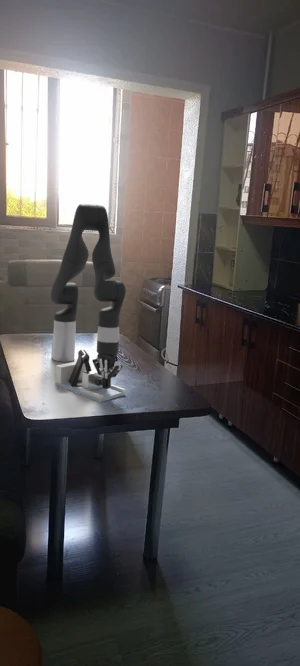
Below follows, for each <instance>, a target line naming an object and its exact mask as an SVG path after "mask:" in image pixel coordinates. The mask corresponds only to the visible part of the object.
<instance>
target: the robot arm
mask: <svg viewBox="0 0 300 666" xmlns="http://www.w3.org/2000/svg"><path fill="white" fill-rule="evenodd" d="M108 217H109V215H108V211H107V208H106V207H105V206H104V205H99V204H92V203H91V204H89V203H80V204H78V206H77V208H76V210H75V212H74V216H73V222H72V225H71V231H70V235H69V238H68V241H67V245H66V247H65V250H64V252H63V257H62V258H61V259H62V260H61V264H60V267H59V270H58V273H57V274H56V277H55V280H54V281H53V284H52V287H51V291H50V300H51V302H52V303H53V304H55V305H66V307H64V308H62V309H61V310H59V311H56V312H55V313H54V315H53V336H52V337H51V359H52V360H53V361H56V362H62V363H64V362H65V363H66V362H67V363H70V362H74V361H75V351H76V332H77V331H76V329H77V328H76V327H77V326H76V325H77V313H78V303H79V302H78V301H79V286H78V285H77V284H76V282H71V281H72V280H73V279H74V278H76V277H77V276H78V275H80V274H81V273H82V272H83V270H84V269H85V267H86V265H87V263H88V259H89V254H90V253H89V249H88V247H87V245H86V243H85V241H84V238H83V232H84V231H92V232H93V231H94V232H95V231H96V232H98V234H99V235H98V236H99V237H98V241H96V244H95V246H94V247H93V251H92V255H91V260H92V266H93V270H94V278H95V279H94V289H93V296H94V297H95V299H96V300H97V301H98V302H104V303H105V302H107V303H108V302H109V303H110V302H111V304H110V305H109V306H108V307H104V308H101V309H100V310H99V311H98V324H97V325H98V326H97V333H96V352H97V353H98V354H97V357H96V358H95V359H92V364H93V365H94V368H95V370H97V373H98V375H101V377H102V386H103V388H104V389H109V388H110V386H111V384H112V378H116V377H117V376H118V374H119V373H120V372H121V370H122V369H123V367H124V366H123V365H122V364H120V363H119V362H118V361H119V359H118V354H119V352H120V349H119V348H120V315H121V311H122V307H123V303H124V300H125V298H126V293H127V289H126V286H125V285H126V284H125V283H124V282H122V281H121V280H110V279H113V278H114V276H116V267H115V263H114V259H113V255H112V250H111V239H110V227H109V226H110V225H109V218H108Z"/></svg>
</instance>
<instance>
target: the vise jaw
mask: <svg viewBox="0 0 300 666" xmlns="http://www.w3.org/2000/svg"><path fill="white" fill-rule="evenodd" d="M91 370H92V369H91ZM82 388H84V389H87V390H90V391H91V390H95V389H99V388H103V386H102V377H101V375H98V373H97V370H96V369H93V370H92V371H88V372H83V376H82Z"/></svg>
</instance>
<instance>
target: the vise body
mask: <svg viewBox="0 0 300 666" xmlns="http://www.w3.org/2000/svg"><path fill="white" fill-rule="evenodd" d="M76 362H77V361H71V362H67V363H62V364H58V365H55V374H54V375H55V378H54V381H55V384H54V385H55V386H58V387H60V388H62V387H63V389H65V388H66V389H65V390H67V389H68V391H70V390H71V392H73V391H74V392H73V393H75V392H77V393H76V394H78V393H79V394H78V395H80V394H81V395H80V396H83V397H85V398H88V399H91V400H93V401H96V402H99V403H102V402H106V401H108V400H112V399H116V398H119V397H122V396H125V394H126V389H125V388H123V387H120V386H117V385H115V384H112V383H111V386H110V388H109V389H104V388H99V389H95V390H91V391H90V390H87V389H84V388H82V386H81V387H72V386H71V384H70V382H69V379H70V376H71V374H72V371H73V369H74V367H75V364H76ZM83 372H86V368H85V363H84V364H83V366H82V369H81V372H80V375H79V379H78V380H82V376H83Z"/></svg>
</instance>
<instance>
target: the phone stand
mask: <svg viewBox="0 0 300 666" xmlns="http://www.w3.org/2000/svg"><path fill="white" fill-rule="evenodd" d="M77 355H78V357H77V360H76V361H75V362H76V364H75V367H74V369H73V371H72V374H71V376H70V379H69V382H70V384H71V386H72V387H81V386H82V380H78V379H79V375H80V372H81V369H82V366H83V364H84V363H85V368H86V372H88V371H92V368H91V367H92V366H91V364H90V355H89V353H88V352H87V351H86V350H85V349H83V350H82V349H80V350H79V351H78V352H77Z"/></svg>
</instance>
